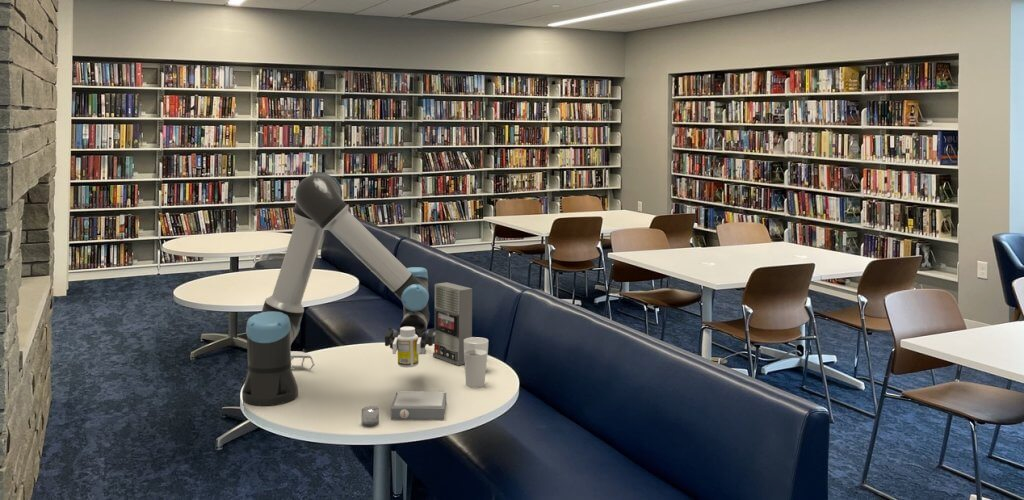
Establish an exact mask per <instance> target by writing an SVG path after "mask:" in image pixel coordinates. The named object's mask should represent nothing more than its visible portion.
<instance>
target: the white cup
mask: <svg viewBox="0 0 1024 500" xmlns="http://www.w3.org/2000/svg"><path fill="white" fill-rule="evenodd" d="M473 349H477V350H484V351H486V352H487V353H486V368H487V366H488V365H487V363H488V355H489V353H488V352H489V339H488V338H486V337H476V336H472V337H471V338H466V339H464V361H465V351H467V350H473ZM485 372H487V369H486V370H485Z"/></svg>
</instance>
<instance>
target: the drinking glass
mask: <svg viewBox="0 0 1024 500" xmlns="http://www.w3.org/2000/svg"><path fill="white" fill-rule="evenodd" d="M486 353H487V352H486V351H484V350H477V349H473V350H467V351H465V364H464V373H465V375H464V377H465V386H466V387H468V388H473V389H474V388H475V389H476V388H482V387H484V386H485V385H486V384H485V383H486V371H487V367H486V364H487V363H486ZM485 370H486V371H485Z"/></svg>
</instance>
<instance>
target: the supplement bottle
mask: <svg viewBox="0 0 1024 500" xmlns="http://www.w3.org/2000/svg"><path fill="white" fill-rule="evenodd" d="M399 328H400V327H399ZM417 341H418V336H417V335H416V334H415V328H414V327H402V328H400V335H398V337H397V346H398V349H397V365H398V366H399V367H401V368H414V367H417V366H418V365H419V354H417Z"/></svg>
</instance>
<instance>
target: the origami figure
mask: <svg viewBox="0 0 1024 500" xmlns="http://www.w3.org/2000/svg"><path fill="white" fill-rule="evenodd" d="M298 358H299V359H302V360H301V366H302V367H304V361H305V359H310V362H311V363H312V366H310V367H309V368H308V369H309V370H308V372H311V371H312V368H313V367H314V366H315V362H314V360H313V357H312V356H311V354H309V353H308V352H304V351H297V350H296V351H294V350H293V351H292V350H291V362H292V361H293V359H298ZM291 370H292V371H293V370H294V367H293V366H292V363H291Z"/></svg>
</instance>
